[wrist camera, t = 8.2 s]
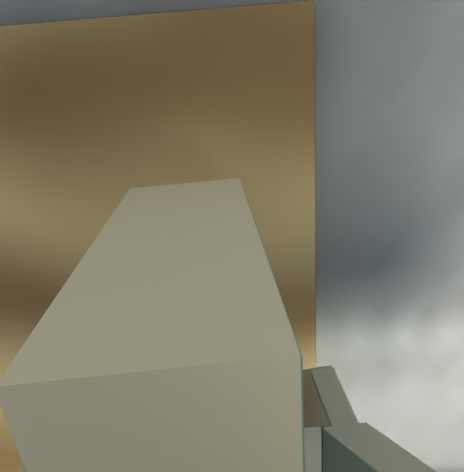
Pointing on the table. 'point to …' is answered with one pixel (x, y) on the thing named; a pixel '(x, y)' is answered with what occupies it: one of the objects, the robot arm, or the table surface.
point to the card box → (163, 348)
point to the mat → (152, 144)
